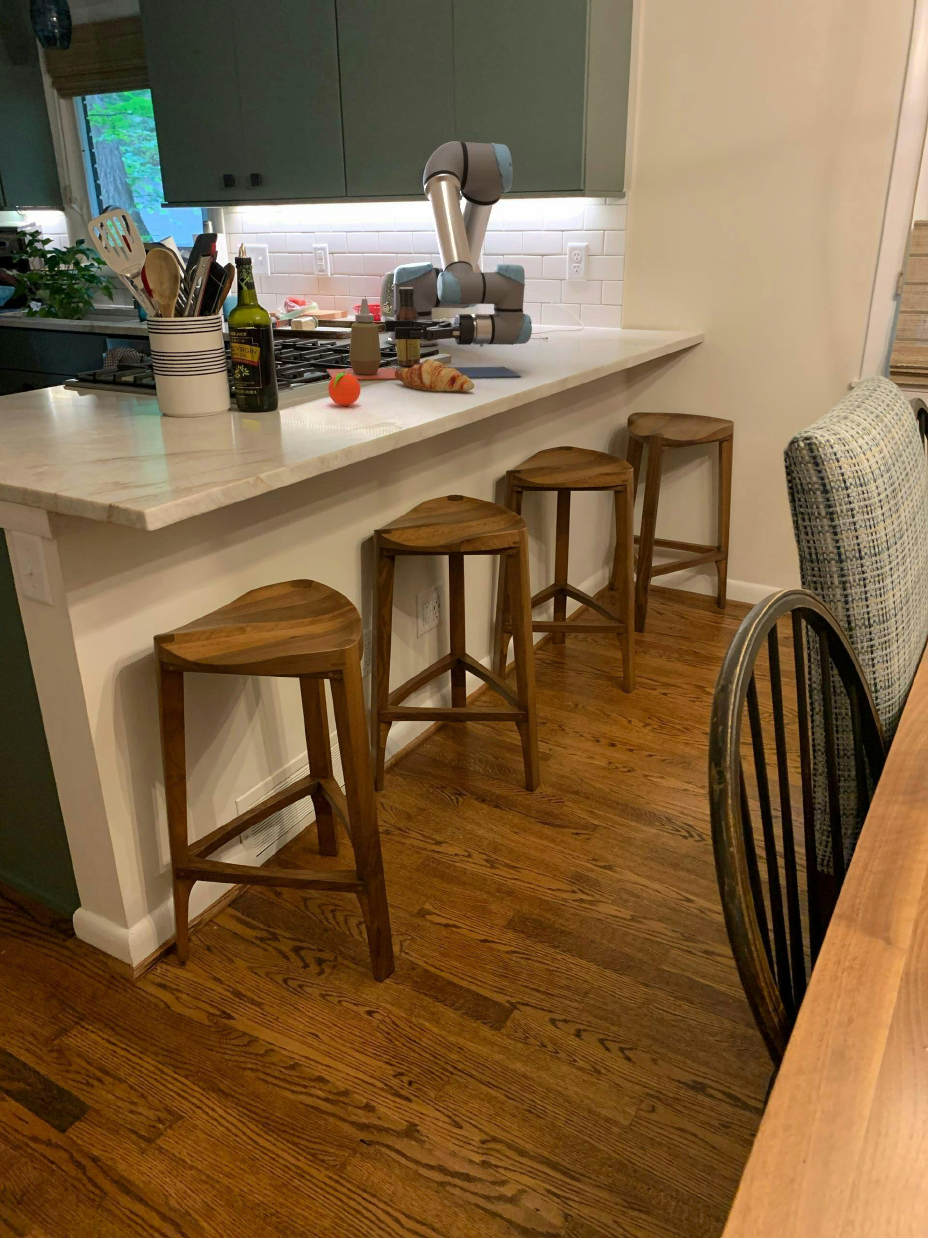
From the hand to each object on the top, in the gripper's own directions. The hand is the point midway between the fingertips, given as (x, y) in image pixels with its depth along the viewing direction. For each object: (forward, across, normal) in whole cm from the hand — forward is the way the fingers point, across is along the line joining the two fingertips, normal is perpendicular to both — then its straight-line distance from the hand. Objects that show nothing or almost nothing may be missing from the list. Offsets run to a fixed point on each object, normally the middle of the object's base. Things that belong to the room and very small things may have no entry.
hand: (389, 329), depth 234 cm
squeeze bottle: (+6, 0, -11) cm, 13 cm away
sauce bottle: (-8, +14, -11) cm, 19 cm away
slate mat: (-24, 0, -11) cm, 26 cm away
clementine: (+17, -37, -11) cm, 43 cm away
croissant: (-7, -20, -11) cm, 24 cm away
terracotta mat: (+6, 0, -11) cm, 13 cm away
